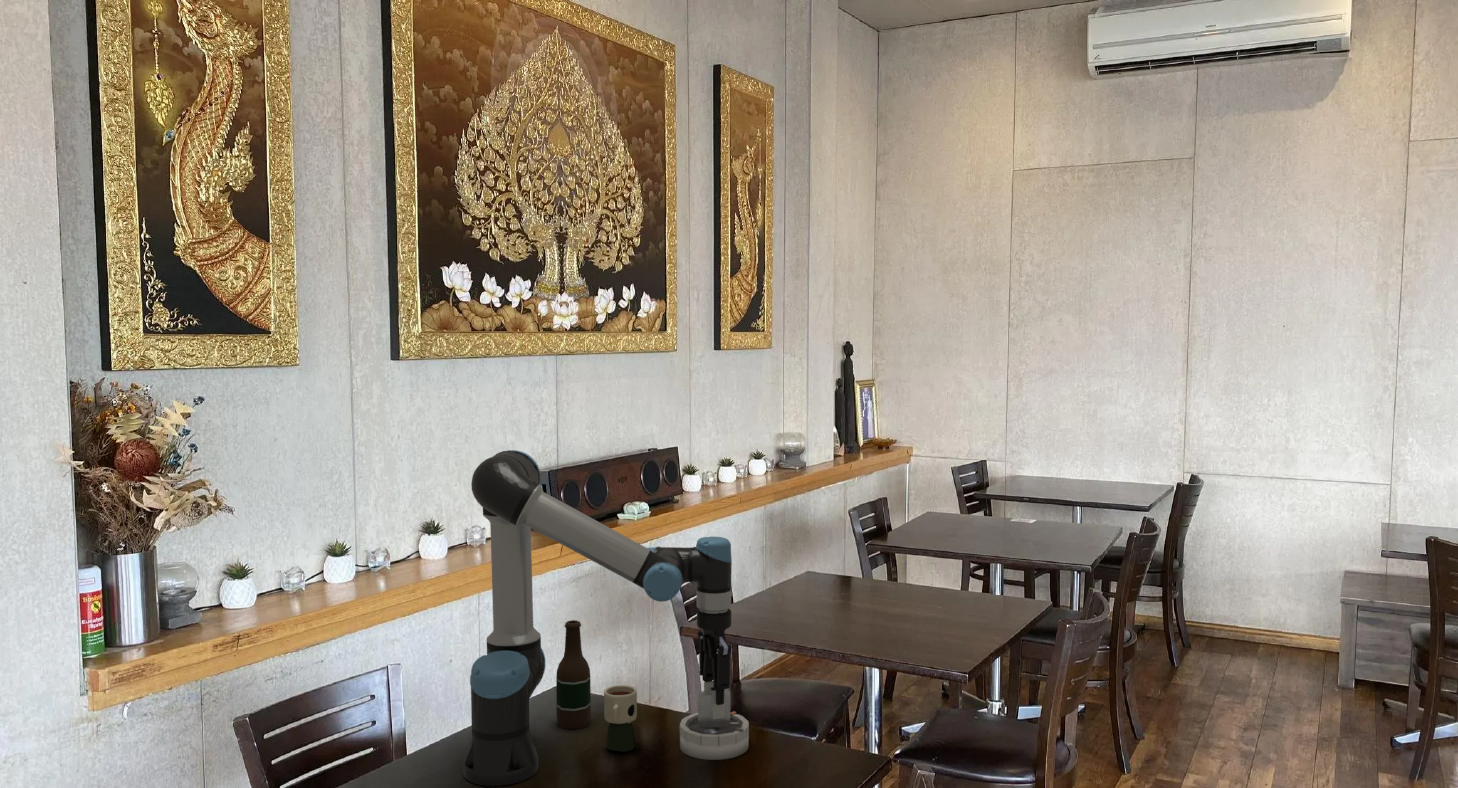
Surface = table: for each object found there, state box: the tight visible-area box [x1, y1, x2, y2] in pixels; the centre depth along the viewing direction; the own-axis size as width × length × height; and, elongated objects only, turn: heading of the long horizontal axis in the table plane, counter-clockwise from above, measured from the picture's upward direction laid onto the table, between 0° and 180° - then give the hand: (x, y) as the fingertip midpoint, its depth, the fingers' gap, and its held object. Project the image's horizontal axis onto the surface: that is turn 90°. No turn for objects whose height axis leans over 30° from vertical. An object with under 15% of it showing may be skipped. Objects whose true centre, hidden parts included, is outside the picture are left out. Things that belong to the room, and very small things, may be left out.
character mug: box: [603, 684, 638, 753], centre depth 224 cm, size 11×7×13 cm, turn 173°
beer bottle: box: [555, 619, 592, 730], centre depth 238 cm, size 8×8×24 cm
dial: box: [689, 690, 739, 735], centre depth 226 cm, size 11×11×8 cm
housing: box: [679, 710, 750, 761], centre depth 226 cm, size 15×15×5 cm
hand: (714, 714), depth 226 cm, fingers closed on dial, 4 cm apart
